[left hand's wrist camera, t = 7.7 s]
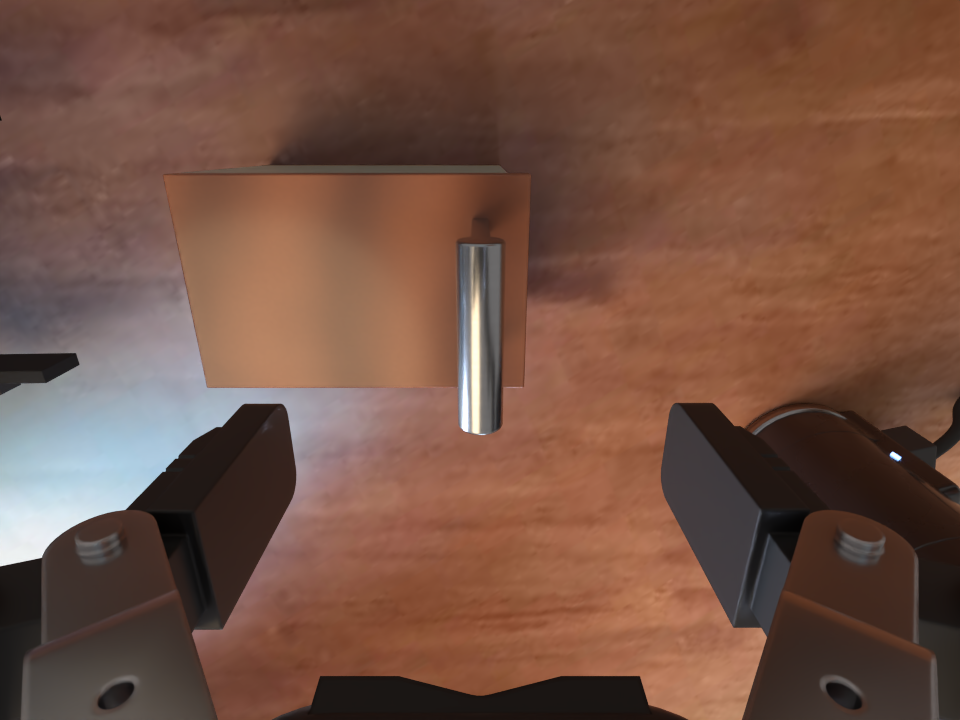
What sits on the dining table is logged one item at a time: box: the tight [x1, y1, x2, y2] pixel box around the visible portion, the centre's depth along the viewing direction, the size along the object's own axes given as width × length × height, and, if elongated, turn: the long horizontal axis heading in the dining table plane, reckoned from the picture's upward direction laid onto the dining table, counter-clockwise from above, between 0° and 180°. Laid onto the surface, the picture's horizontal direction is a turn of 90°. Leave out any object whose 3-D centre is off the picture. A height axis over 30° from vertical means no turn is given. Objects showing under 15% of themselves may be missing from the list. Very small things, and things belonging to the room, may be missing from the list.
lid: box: [163, 173, 531, 435], centre depth 21 cm, size 15×10×8 cm, turn 90°
